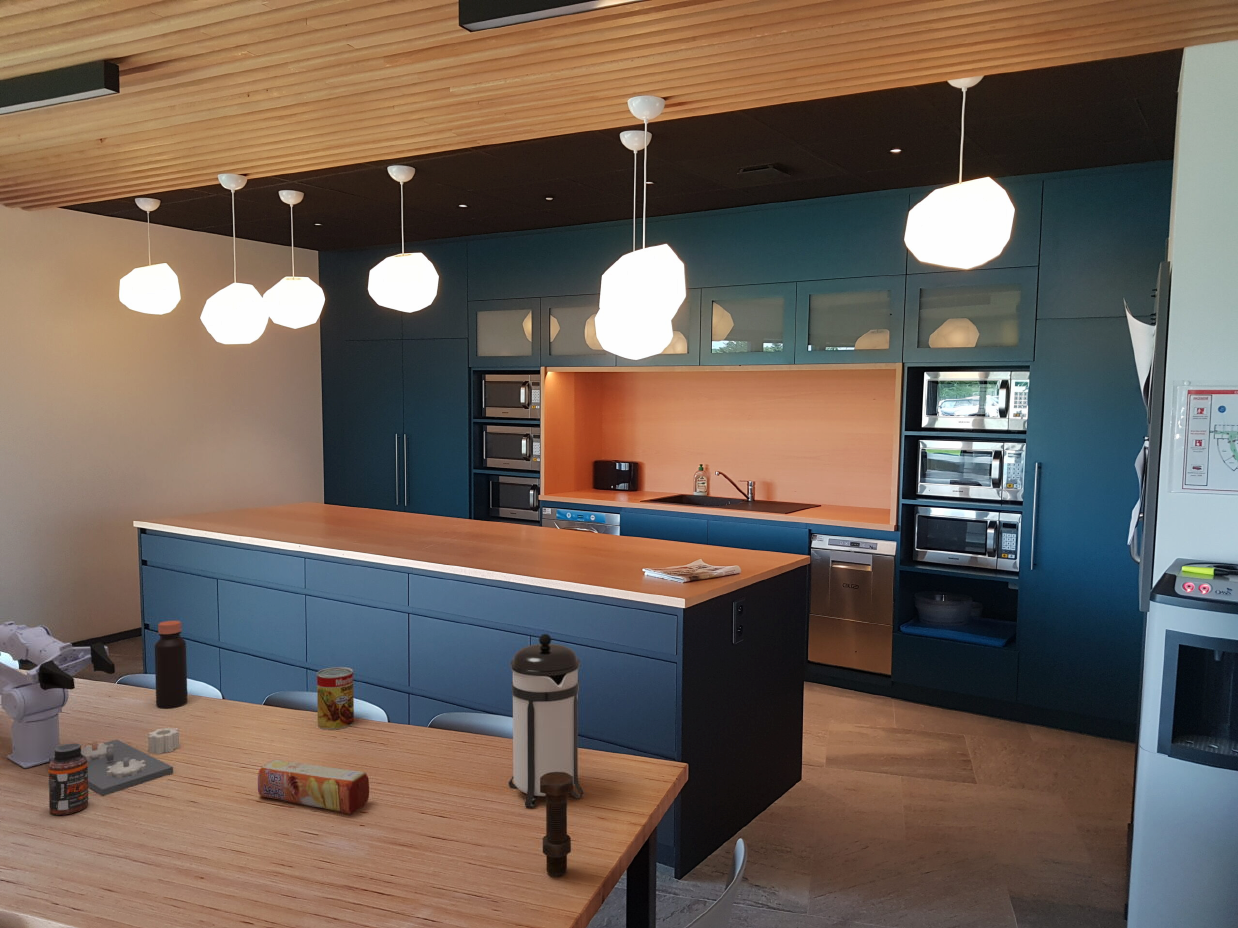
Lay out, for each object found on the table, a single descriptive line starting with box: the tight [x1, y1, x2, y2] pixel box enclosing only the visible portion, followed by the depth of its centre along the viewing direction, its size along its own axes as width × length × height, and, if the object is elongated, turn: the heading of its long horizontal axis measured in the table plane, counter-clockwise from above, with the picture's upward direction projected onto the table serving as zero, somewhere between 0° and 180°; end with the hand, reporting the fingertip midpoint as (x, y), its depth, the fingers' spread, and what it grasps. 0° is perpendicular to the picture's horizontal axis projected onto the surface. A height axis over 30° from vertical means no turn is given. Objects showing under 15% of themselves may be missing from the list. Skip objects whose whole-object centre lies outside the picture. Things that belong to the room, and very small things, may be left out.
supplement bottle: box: [48, 742, 89, 816], centre depth 158 cm, size 6×6×11 cm
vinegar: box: [154, 620, 189, 709], centre depth 214 cm, size 7×7×20 cm
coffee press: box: [508, 633, 585, 809], centre depth 165 cm, size 17×16×30 cm
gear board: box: [48, 739, 174, 796], centre depth 176 cm, size 24×13×5 cm, turn 53°
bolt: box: [540, 772, 574, 878], centre depth 136 cm, size 6×5×15 cm
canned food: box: [316, 666, 355, 731], centre depth 201 cm, size 8×8×12 cm
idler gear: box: [147, 727, 180, 755], centre depth 186 cm, size 6×6×4 cm
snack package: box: [257, 758, 370, 815], centre depth 161 cm, size 21×7×7 cm, turn 69°
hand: (93, 676), depth 169 cm, fingers open, 7 cm apart
